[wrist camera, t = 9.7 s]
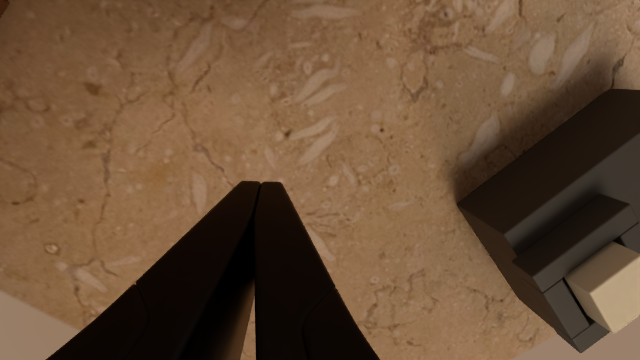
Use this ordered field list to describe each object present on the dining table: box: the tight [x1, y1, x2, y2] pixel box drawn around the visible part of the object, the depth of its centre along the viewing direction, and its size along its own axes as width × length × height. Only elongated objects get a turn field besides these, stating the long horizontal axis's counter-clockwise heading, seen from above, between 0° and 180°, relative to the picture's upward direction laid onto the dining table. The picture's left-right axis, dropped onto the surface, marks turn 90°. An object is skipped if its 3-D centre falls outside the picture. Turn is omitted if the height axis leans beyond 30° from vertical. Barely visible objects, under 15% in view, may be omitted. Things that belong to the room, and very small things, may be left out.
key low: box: [564, 241, 640, 334], centre depth 21 cm, size 3×3×2 cm
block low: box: [457, 89, 640, 353], centre depth 24 cm, size 12×9×7 cm
